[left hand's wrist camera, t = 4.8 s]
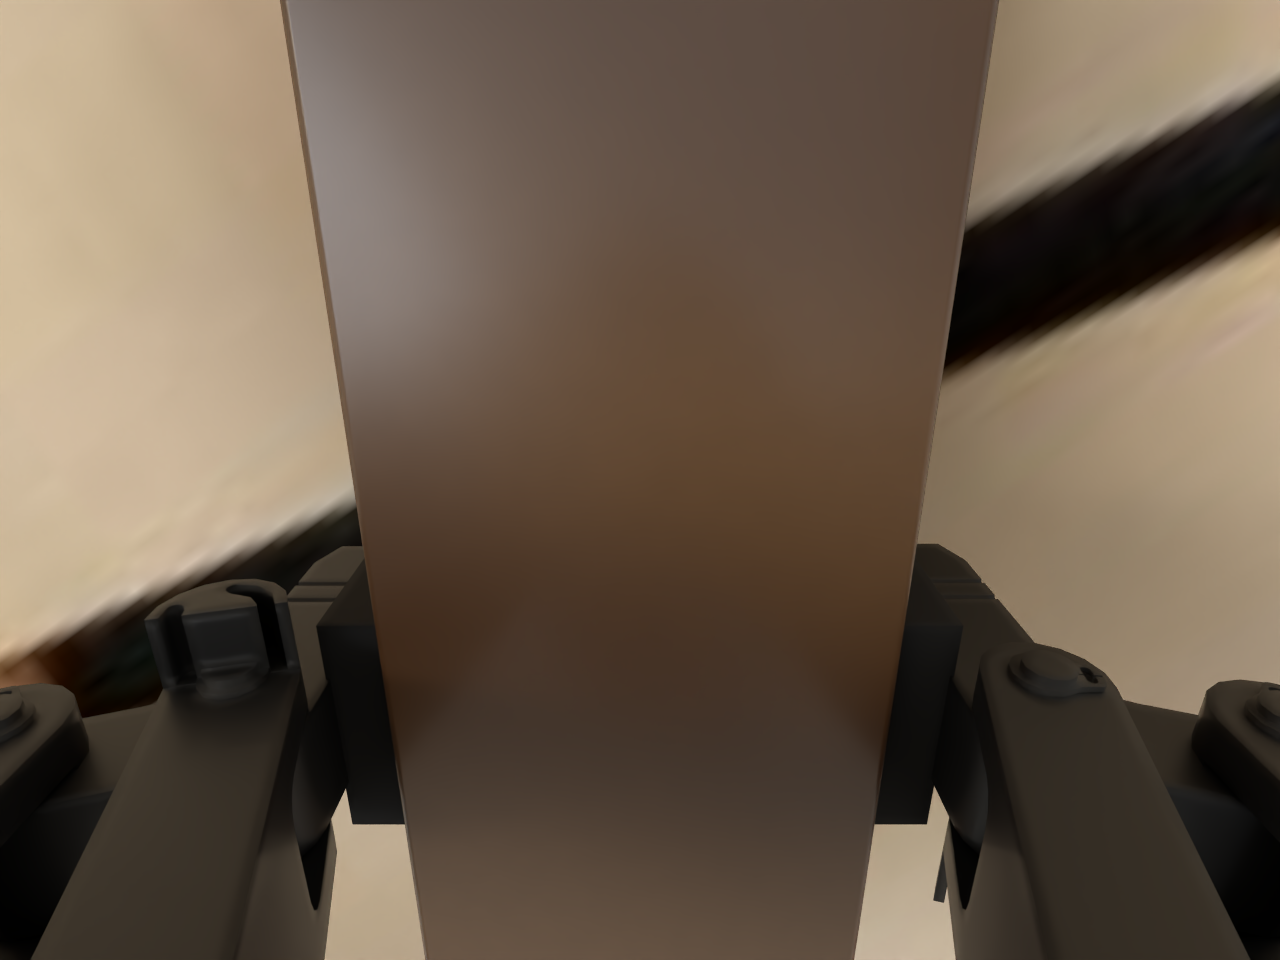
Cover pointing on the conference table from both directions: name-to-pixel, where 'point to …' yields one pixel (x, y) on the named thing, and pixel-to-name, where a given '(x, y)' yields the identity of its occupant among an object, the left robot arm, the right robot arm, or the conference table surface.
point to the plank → (639, 439)
